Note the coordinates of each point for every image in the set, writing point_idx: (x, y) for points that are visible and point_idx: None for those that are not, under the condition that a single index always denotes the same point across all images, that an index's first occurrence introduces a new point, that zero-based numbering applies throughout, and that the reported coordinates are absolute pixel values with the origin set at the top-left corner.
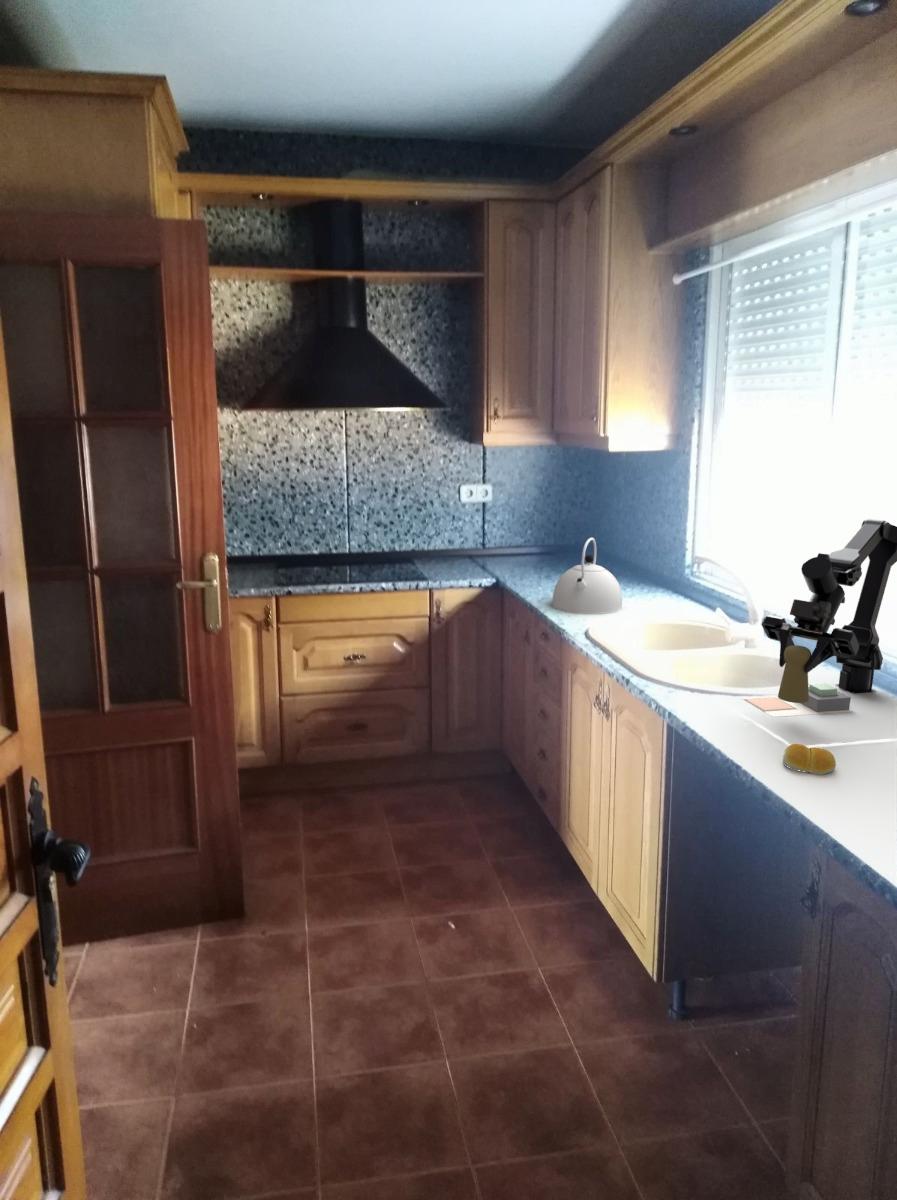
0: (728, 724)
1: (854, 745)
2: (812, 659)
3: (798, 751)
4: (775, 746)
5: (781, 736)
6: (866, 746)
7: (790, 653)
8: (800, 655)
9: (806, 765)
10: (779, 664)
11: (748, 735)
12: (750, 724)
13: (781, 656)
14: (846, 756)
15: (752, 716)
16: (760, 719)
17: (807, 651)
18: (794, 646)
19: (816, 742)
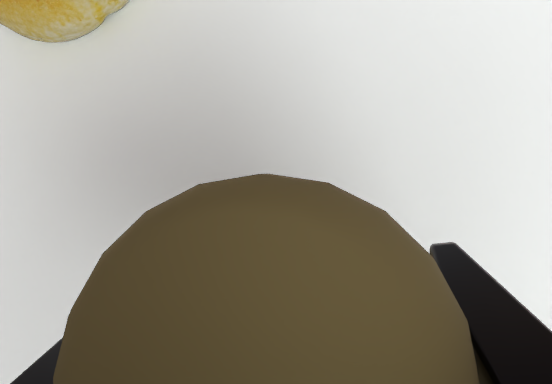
0: (524, 53)
1: (42, 296)
2: (47, 365)
3: None
4: (233, 16)
5: (279, 131)
6: (7, 327)
7: (265, 174)
8: (130, 227)
9: None
10: (451, 245)
11: (373, 20)
12: (461, 143)
13: (482, 294)
14: (20, 158)
15: (537, 255)
16: (480, 250)
17: (56, 366)
18: (280, 351)
19: (153, 195)
